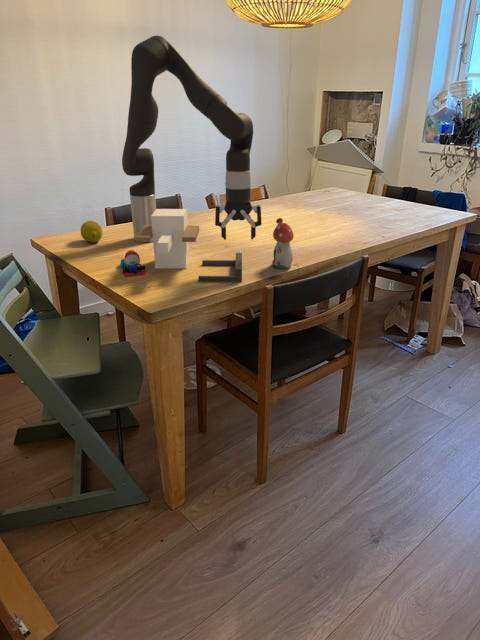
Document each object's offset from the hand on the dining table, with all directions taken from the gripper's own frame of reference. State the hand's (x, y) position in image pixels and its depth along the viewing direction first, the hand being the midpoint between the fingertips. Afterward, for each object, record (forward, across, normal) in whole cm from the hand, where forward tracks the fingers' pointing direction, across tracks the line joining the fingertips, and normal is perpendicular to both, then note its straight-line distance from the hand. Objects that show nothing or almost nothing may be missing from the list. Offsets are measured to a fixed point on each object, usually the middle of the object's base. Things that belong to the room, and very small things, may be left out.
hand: (238, 239), depth 149 cm
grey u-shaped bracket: (+10, +5, +4) cm, 12 cm away
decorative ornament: (+10, -14, -4) cm, 18 cm away
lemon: (+10, +56, -31) cm, 65 cm away
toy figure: (+10, +34, 0) cm, 36 cm away
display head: (+10, +22, +1) cm, 24 cm away
